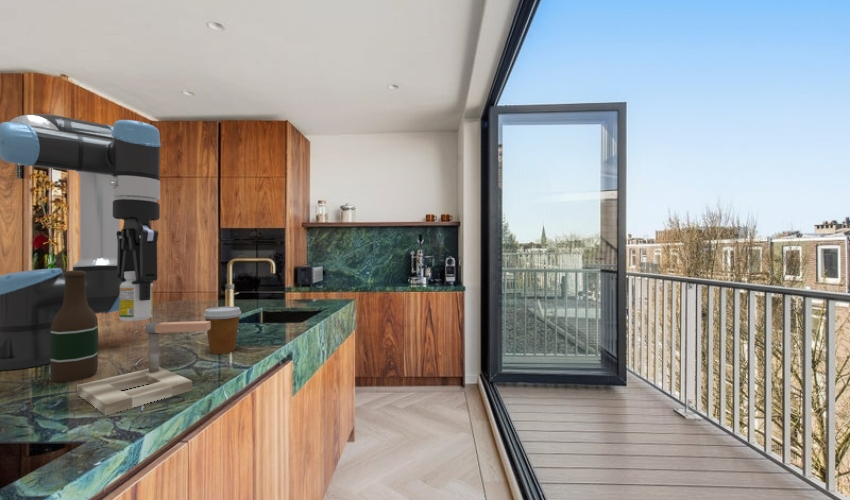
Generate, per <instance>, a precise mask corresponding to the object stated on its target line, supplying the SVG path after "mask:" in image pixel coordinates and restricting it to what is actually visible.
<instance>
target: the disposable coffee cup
mask: <svg viewBox="0 0 850 500" xmlns="http://www.w3.org/2000/svg"><path fill="white" fill-rule="evenodd" d="M241 314H242V311H241V309H240V307H239V306H218V307H217V306H216V307H215V306H214V307H209V308H206V309H205V311H204V313H203V314H202V315H203V317H204V320H205V321H211V329H209V330H208V331H206V334H207V340H208V341H207V342H208V348H209V353H210V354H214V355H217V354H220V355H221V354H229V353H231V352H234V351H235V350H236V343H237V336H238V330H239V321H240V316H241Z"/></svg>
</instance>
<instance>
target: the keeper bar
mask: <svg viewBox="0 0 850 500" xmlns="http://www.w3.org/2000/svg"><path fill="white" fill-rule="evenodd" d="M145 327H146V328H145V333H146V334H149V333H159V334H160V333H161V334H162V333H187V332H188V333H193V332H207V331H208V330H209V329H211V321H206V320H205V321H203V320H201V321H200V320H199V321H198V320H197V321H195V320H194V321H168V322H165V321H163V322H161V321H160V322H157V321H156V322H149V323H146V325H145Z"/></svg>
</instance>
